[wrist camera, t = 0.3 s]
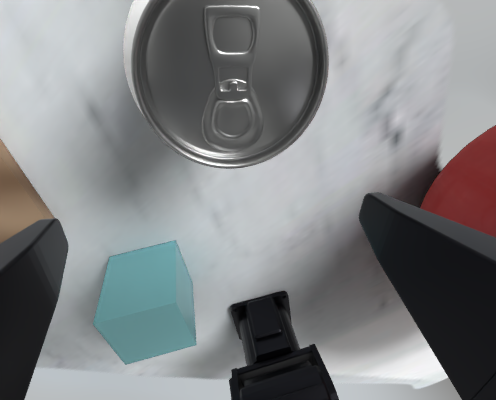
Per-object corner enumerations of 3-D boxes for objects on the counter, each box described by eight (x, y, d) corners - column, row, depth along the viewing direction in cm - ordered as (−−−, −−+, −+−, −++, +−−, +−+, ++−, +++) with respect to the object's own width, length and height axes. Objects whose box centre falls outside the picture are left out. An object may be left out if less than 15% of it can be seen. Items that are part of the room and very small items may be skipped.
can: (156, 92, 20) (138, 188, 10) (137, -34, 16) (79, -80, 6) (253, 88, 21) (324, 172, 11) (256, -30, 17) (366, -64, 7)
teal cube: (192, 282, 30) (196, 344, 25) (134, 297, 29) (125, 364, 24) (175, 240, 27) (175, 302, 21) (109, 256, 26) (92, 324, 21)
